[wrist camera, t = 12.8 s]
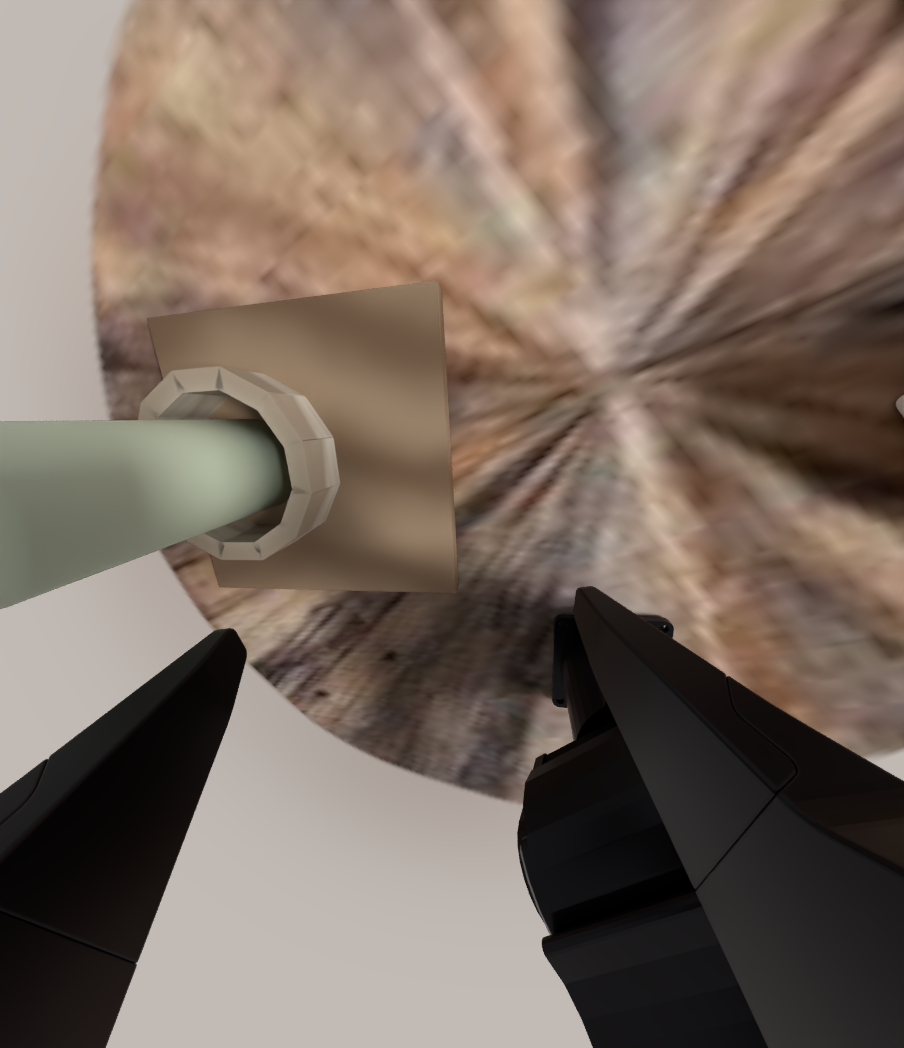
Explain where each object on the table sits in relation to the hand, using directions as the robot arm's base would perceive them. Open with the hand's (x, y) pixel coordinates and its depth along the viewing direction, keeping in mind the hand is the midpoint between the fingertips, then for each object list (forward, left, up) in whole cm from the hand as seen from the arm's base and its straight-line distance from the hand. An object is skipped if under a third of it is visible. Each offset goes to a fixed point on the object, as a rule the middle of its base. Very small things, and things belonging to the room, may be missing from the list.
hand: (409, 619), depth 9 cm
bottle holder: (+3, +9, -12) cm, 15 cm away
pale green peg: (+3, +12, -11) cm, 16 cm away
